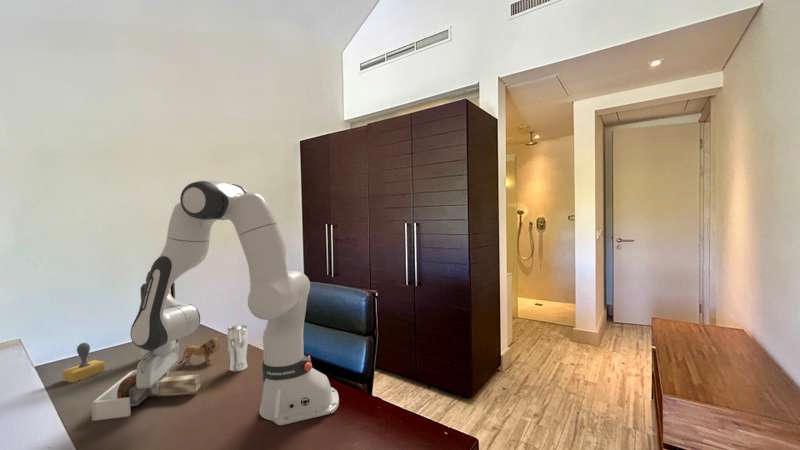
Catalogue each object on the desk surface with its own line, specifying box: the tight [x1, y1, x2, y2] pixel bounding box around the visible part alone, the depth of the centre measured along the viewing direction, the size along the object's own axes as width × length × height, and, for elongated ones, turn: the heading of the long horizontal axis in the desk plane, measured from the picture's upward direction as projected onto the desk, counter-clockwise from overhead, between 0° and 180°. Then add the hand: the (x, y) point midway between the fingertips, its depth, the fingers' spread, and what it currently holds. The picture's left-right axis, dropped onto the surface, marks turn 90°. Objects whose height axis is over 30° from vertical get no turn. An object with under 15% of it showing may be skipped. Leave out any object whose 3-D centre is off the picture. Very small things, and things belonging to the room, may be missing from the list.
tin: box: [117, 371, 137, 408], centre depth 110 cm, size 15×3×8 cm, turn 6°
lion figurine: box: [177, 337, 221, 366], centre depth 136 cm, size 15×5×9 cm, turn 106°
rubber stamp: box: [62, 342, 106, 383], centre depth 127 cm, size 10×6×12 cm, turn 161°
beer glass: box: [226, 324, 249, 373], centre depth 131 cm, size 7×7×15 cm
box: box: [90, 369, 137, 421], centre depth 110 cm, size 9×21×5 cm, turn 12°
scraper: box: [129, 374, 202, 407], centre depth 111 cm, size 16×14×5 cm
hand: (159, 388), depth 111 cm, fingers closed on scraper, 3 cm apart
